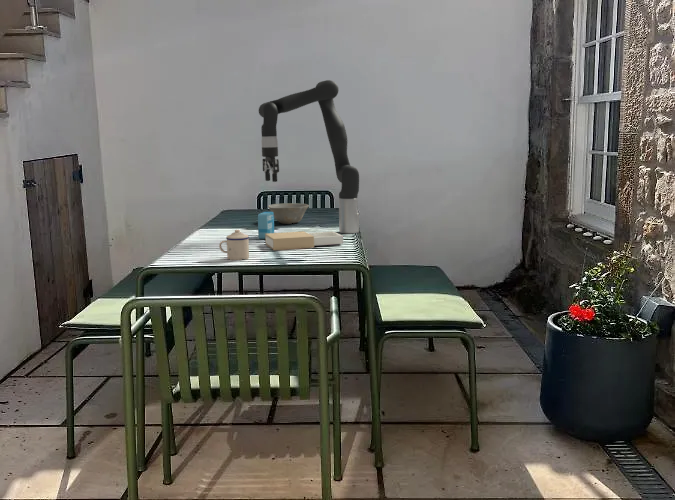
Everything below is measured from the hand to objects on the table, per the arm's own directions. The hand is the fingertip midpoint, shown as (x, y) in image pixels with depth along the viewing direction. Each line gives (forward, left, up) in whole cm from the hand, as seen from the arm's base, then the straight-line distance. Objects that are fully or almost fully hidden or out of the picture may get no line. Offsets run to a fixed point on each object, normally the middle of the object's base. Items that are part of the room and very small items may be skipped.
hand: (271, 181), depth 311 cm
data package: (+2, -4, -28) cm, 28 cm away
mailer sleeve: (-2, +24, -27) cm, 36 cm away
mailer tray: (-9, +24, -27) cm, 37 cm away
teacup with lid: (+26, +44, -28) cm, 58 cm away
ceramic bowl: (-21, -50, -28) cm, 61 cm away
